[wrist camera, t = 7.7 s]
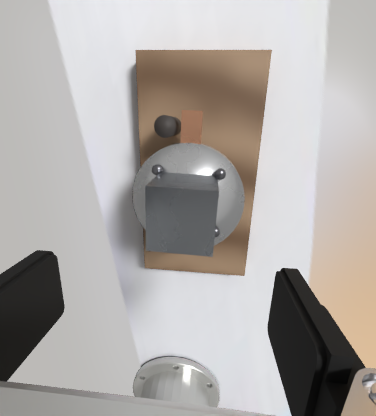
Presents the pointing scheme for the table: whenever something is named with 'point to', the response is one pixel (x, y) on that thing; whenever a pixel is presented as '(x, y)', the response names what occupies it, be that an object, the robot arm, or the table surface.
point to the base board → (206, 129)
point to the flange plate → (201, 166)
